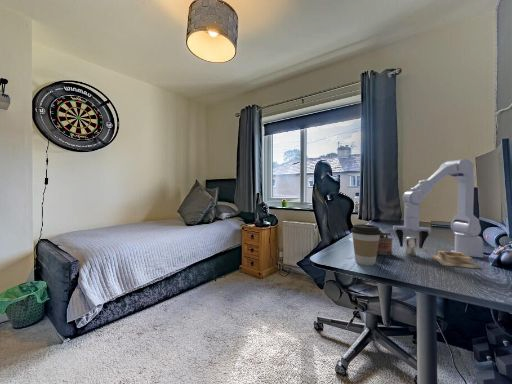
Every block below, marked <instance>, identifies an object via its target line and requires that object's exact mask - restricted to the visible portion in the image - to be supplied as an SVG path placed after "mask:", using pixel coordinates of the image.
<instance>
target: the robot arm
mask: <svg viewBox="0 0 512 384" xmlns="http://www.w3.org/2000/svg"><path fill="white" fill-rule="evenodd" d="M446 176H447V177H448V176H449V177H453V178H454V179H456V180H457V181H458V183H457V185H458V188H457V210H456V211H457V213H456V214H455V215H454V216H452V221H451V223H450V229H451V232H453V234H454V250H452V249H451V250H450V252H460V253H463V254H465V255H467V256H469V257H471V258H473V257H474V258H485V256H484V240H483V238H482V237H481V236H479V235H480V234H481V232H482V227H481V224H480V219H479V218H478V217H476V216H475V214H474V201H475V200H474V199H475V198H474V197H475V194H474V193H475V173H474V162H471V160H470V159H468V158H462V159H457V160H456V159H455V160H445V161H444V162H443V163H442V164H440V166H439V168H438V169H437V170H436V171H434V173H432V174H431V175H430V177H428V178H427V179H422V180H419V181H418V182H417V184H416V185H415V186H414V187H411V188H410V190H407V191H404V193H403V195H402V196H401V200H402V202H403V206H404V208H403V209H404V210H403V211H404V214H403V216H404V217H403V221H404V222H403V225H392V231H394V232H395V234H396V236H397V238H398V242H399V246H400V247H402V248H403V246H404V243H403V242H404V241H403V239H404V232H417V233H418V236H419V237H418V238H419V239H418V240H419V241H418V248H419V249H423V247H424V243H425V242H426V240H427V238H428V237H429V233H431V232H432V227H422V226H420V203H421V204H422V202H423V201H424V198H425V197H426V195H428V194H429V193H430V192H431V191H432V190H434V189H435V185H436V184H437V183H439V182H440V181H441V180H442V179H444V178H445V177H446ZM403 231H404V232H403Z"/></svg>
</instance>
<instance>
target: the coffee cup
mask: <svg viewBox="0 0 512 384" xmlns="http://www.w3.org/2000/svg"><path fill="white" fill-rule="evenodd" d="M350 232H351V235H352V245H353V251H354V260H355V263H356V264H359V265H362V266H367V267H368V266H371V267H372V266H375V264H376V261H377V256H378V254H377V250H378V244H379V238H380V235H381V232H382V231H381V230H380V227H379V226H377V225H372V224H365V223H364V224H363V223H362V224H360V223H359V224H353V227H352V228H351V230H350Z"/></svg>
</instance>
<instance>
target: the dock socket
mask: <svg viewBox="0 0 512 384" xmlns="http://www.w3.org/2000/svg"><path fill="white" fill-rule="evenodd" d="M431 258H432V259H434V260H435V261H437V262H438V263H440V265H441V266H448V267H449V266H450V267H451V266H452V267H459V268H470V269H481V266H480V265H479V264H477V263H475V262H474V261H473V257H471V256H467V255H465V254H463V253H460V252H451V251H445V250H444V251H443V250H438V251H437V255H436V254H435V255H434V254H431Z"/></svg>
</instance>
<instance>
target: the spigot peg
mask: <svg viewBox="0 0 512 384" xmlns="http://www.w3.org/2000/svg"><path fill="white" fill-rule="evenodd" d="M405 255H406V256H410V257H416V256H417V237H415V236H405Z"/></svg>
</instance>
